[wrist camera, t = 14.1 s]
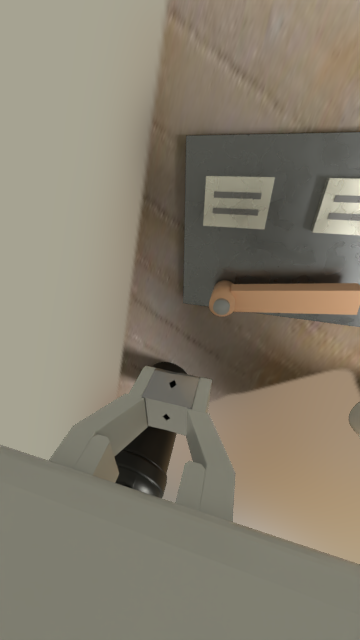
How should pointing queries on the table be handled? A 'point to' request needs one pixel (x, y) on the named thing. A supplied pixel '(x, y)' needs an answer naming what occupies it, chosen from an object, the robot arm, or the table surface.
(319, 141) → the label panel
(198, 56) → the table surface
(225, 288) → the swing bar
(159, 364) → the water bottle
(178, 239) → the table surface
